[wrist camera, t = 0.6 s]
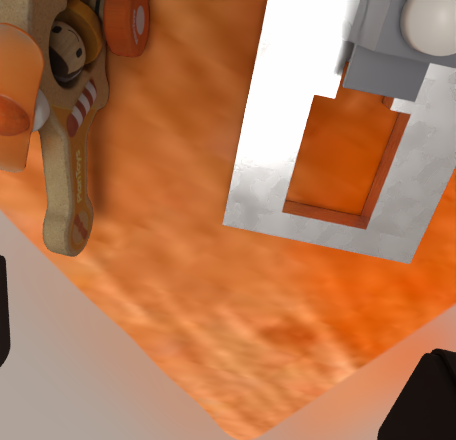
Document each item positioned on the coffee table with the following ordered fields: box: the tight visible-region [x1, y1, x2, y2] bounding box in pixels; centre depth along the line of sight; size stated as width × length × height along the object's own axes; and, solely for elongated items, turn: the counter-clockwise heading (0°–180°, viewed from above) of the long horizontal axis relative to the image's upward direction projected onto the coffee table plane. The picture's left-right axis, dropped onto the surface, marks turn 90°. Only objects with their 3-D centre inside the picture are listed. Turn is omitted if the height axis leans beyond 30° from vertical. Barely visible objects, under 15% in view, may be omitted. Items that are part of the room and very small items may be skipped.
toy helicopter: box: [0, 0, 149, 257], centre depth 28 cm, size 8×21×14 cm, turn 173°
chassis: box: [223, 0, 456, 264], centre depth 30 cm, size 24×16×2 cm, turn 170°
